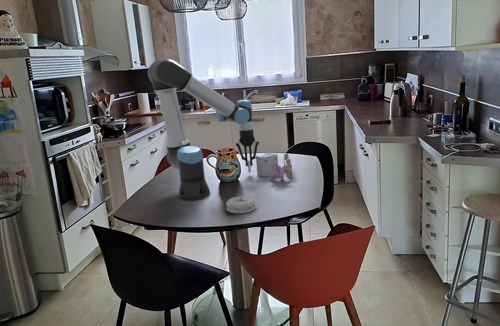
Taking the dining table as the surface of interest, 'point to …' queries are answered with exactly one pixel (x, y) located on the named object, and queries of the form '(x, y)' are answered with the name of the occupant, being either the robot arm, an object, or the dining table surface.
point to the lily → (279, 172)
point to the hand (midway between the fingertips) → (249, 171)
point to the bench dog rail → (289, 166)
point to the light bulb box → (266, 163)
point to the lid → (241, 204)
